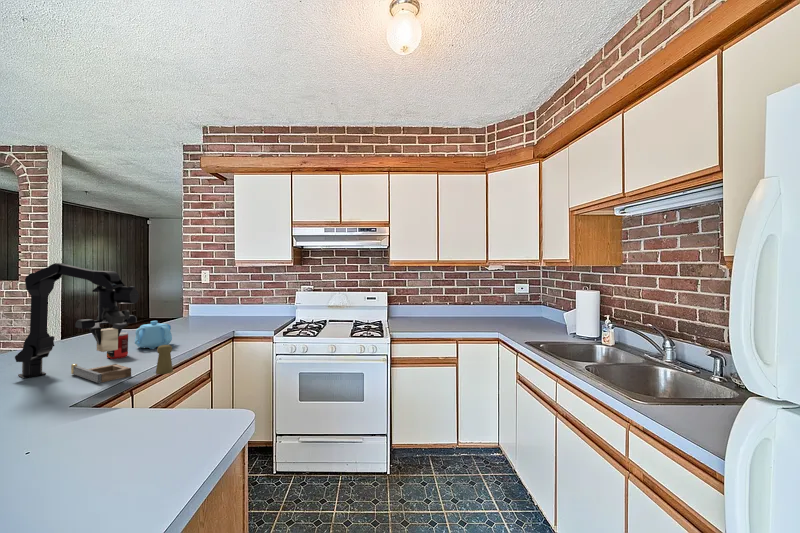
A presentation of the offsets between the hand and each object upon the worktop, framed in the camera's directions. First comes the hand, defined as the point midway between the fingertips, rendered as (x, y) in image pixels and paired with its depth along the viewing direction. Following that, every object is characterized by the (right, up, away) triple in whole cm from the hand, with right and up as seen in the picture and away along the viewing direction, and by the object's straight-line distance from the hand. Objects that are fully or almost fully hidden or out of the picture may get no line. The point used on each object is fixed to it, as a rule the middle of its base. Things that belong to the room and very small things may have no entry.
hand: (107, 343), depth 152 cm
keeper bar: (-5, -12, -4) cm, 14 cm away
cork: (+18, -13, +7) cm, 23 cm away
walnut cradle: (+1, -13, -1) cm, 13 cm away
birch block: (0, -3, 0) cm, 2 cm away
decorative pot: (-15, -12, +52) cm, 56 cm away
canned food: (-18, -12, +30) cm, 37 cm away
